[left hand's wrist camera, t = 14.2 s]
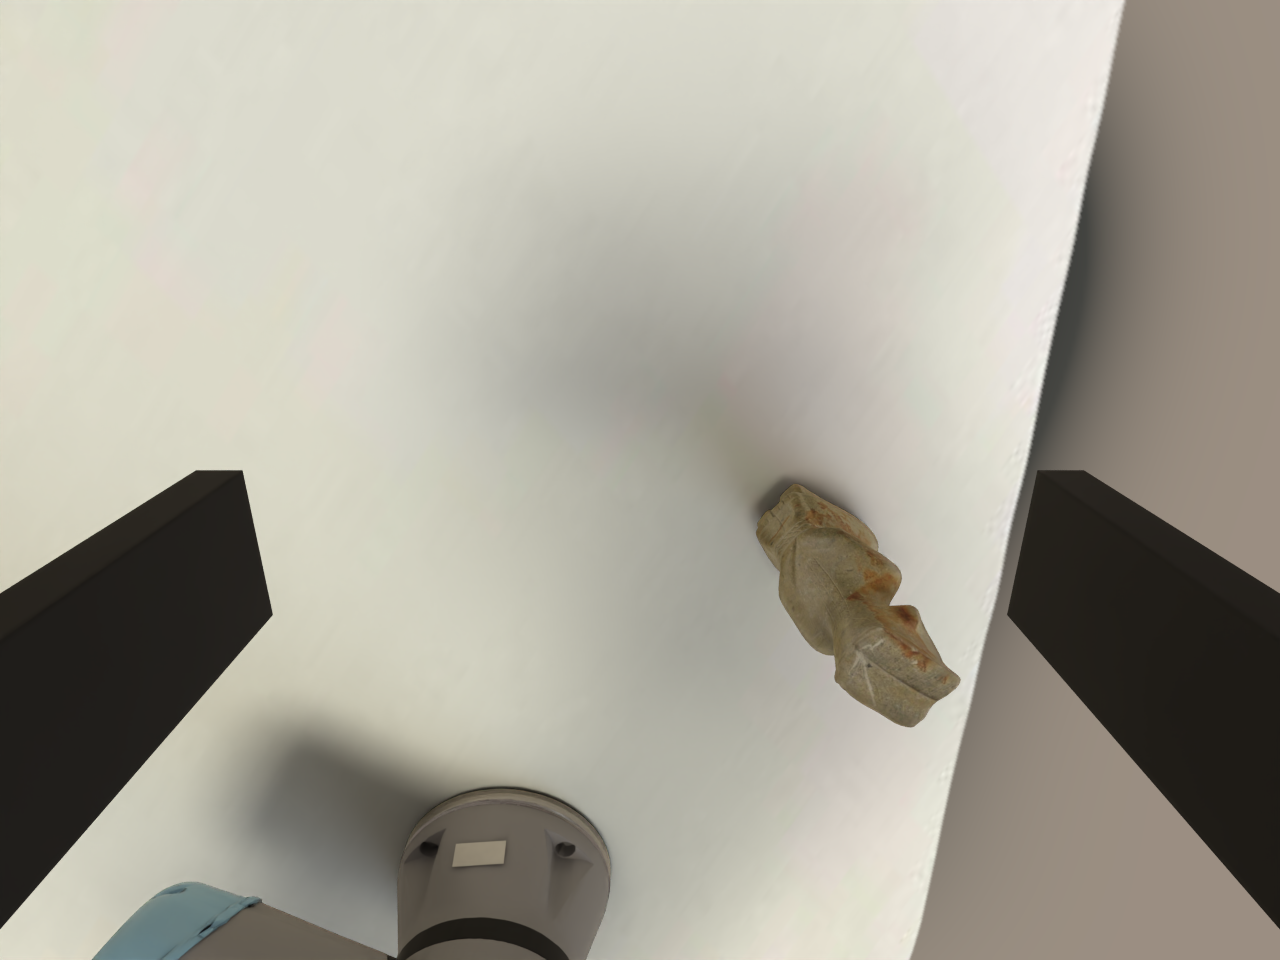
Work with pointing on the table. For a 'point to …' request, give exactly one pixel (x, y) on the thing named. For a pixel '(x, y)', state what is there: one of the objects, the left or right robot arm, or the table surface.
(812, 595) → the sculpture
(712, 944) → the table surface
